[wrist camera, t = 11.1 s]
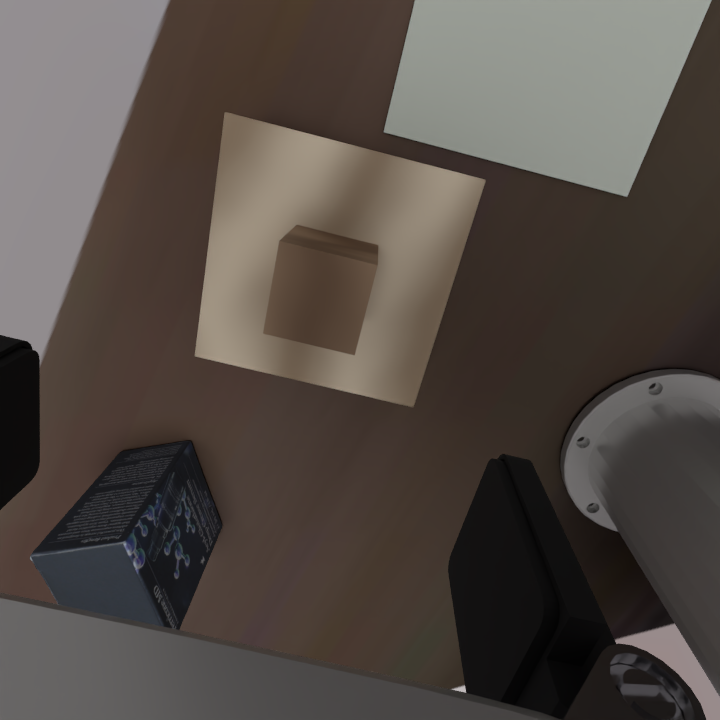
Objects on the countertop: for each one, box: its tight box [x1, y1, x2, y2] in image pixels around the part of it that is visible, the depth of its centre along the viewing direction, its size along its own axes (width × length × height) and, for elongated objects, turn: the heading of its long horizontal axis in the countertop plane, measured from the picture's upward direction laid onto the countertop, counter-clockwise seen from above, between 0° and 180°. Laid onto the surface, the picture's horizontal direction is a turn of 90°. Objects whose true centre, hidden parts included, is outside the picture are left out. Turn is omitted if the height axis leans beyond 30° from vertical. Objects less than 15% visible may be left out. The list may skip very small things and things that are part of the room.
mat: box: [384, 0, 711, 197], centre depth 26 cm, size 14×14×1 cm
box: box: [30, 441, 222, 630], centre depth 33 cm, size 8×6×11 cm
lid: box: [195, 112, 486, 407], centre depth 24 cm, size 12×12×6 cm
